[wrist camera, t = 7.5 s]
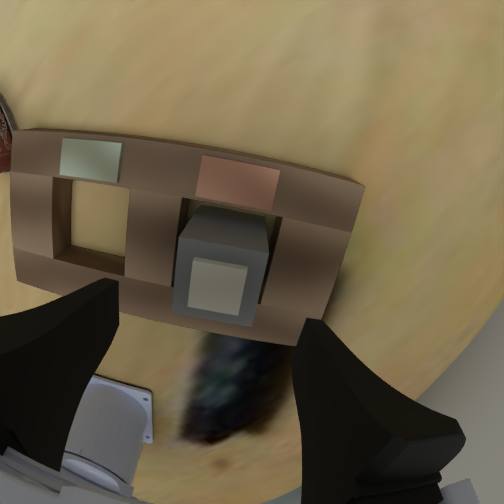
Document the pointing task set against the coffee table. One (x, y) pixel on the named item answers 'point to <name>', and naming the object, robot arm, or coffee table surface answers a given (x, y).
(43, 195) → the socket board
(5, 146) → the lighter
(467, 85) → the coffee table surface
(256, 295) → the plug
